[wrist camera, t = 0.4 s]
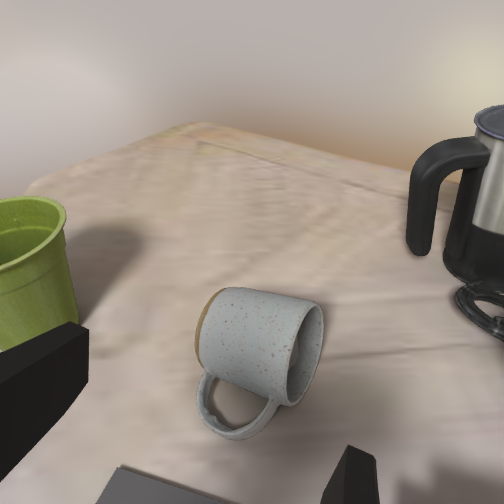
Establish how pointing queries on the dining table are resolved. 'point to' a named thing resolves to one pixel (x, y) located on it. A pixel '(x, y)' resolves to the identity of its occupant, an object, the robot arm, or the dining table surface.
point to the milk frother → (466, 213)
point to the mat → (146, 491)
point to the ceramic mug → (257, 350)
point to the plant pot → (33, 270)
